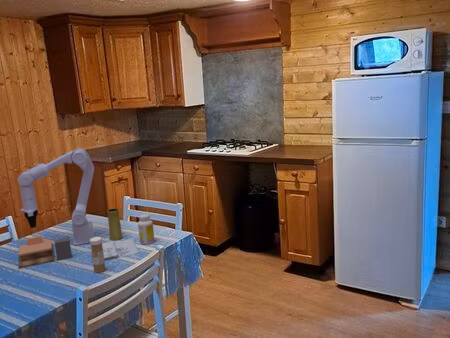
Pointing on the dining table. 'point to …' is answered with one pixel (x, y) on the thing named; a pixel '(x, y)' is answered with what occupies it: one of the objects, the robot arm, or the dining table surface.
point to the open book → (124, 249)
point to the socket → (36, 258)
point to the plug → (63, 249)
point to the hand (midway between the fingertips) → (33, 227)
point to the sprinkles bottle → (97, 254)
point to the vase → (114, 224)
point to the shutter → (35, 246)
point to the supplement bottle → (145, 229)
